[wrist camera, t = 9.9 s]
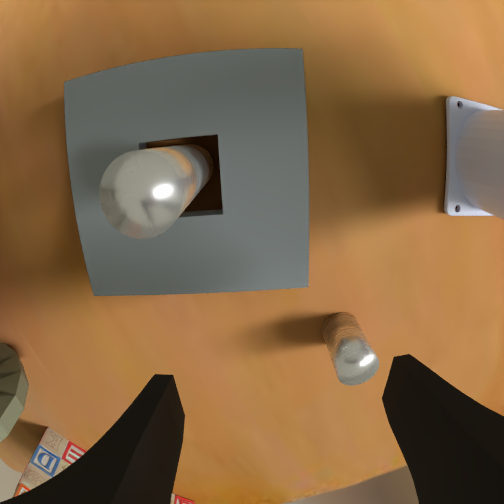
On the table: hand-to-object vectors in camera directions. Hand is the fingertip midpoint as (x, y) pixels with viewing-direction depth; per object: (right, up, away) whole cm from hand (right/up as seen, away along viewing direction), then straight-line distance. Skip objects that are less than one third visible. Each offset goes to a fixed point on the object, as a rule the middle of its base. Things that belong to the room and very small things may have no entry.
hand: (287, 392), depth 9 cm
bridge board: (-5, +9, +8) cm, 13 cm away
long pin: (-5, +9, +8) cm, 13 cm away
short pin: (+5, -1, +11) cm, 13 cm away
